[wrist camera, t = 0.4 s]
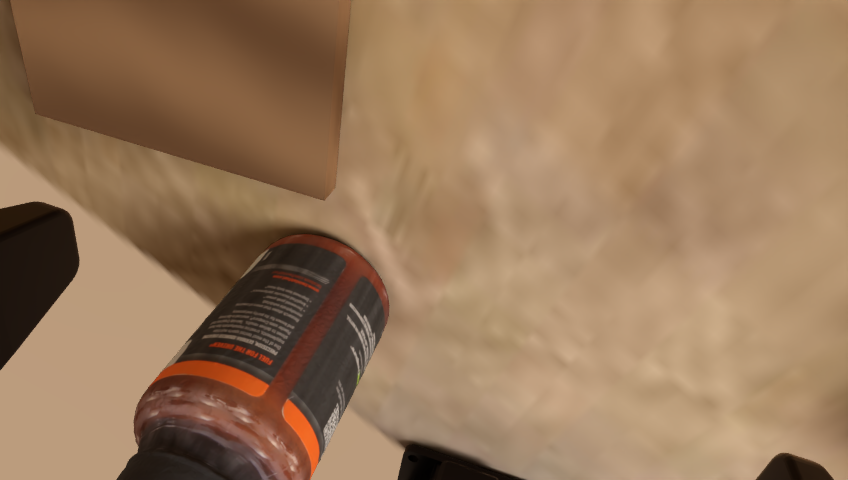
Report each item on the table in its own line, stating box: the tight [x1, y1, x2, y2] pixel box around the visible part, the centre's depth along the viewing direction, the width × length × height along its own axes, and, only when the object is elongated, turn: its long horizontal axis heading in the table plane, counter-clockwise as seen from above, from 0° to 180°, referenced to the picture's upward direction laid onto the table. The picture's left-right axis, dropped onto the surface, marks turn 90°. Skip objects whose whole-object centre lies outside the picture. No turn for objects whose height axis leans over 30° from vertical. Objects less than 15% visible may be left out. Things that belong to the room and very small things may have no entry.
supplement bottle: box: [117, 234, 389, 480], centre depth 22 cm, size 6×6×11 cm
